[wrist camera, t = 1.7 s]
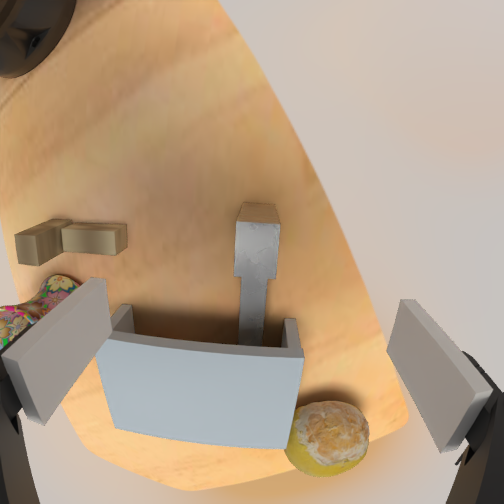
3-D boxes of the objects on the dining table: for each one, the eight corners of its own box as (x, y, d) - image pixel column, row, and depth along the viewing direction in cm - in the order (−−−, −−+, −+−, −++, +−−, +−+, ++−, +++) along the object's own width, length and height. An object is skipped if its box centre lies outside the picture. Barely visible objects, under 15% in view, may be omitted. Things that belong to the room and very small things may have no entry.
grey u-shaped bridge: (122, 300, 34) (91, 335, 26) (296, 314, 34) (304, 358, 26) (135, 386, 38) (115, 428, 30) (283, 402, 38) (286, 449, 30)
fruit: (353, 429, 39) (368, 482, 30) (279, 435, 40) (282, 492, 30) (366, 378, 36) (388, 434, 27) (281, 384, 37) (286, 445, 27)
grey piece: (198, 200, 30) (174, 218, 22) (275, 204, 30) (280, 224, 22) (199, 365, 36) (184, 418, 28) (260, 370, 36) (260, 425, 28)
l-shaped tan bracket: (54, 244, 32) (18, 263, 26) (52, 219, 31) (14, 234, 25) (127, 249, 32) (97, 273, 25) (126, 221, 31) (94, 239, 25)
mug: (53, 335, 36) (11, 379, 26) (33, 270, 33) (-20, 305, 23) (127, 339, 36) (91, 394, 25) (109, 266, 33) (59, 308, 23)
